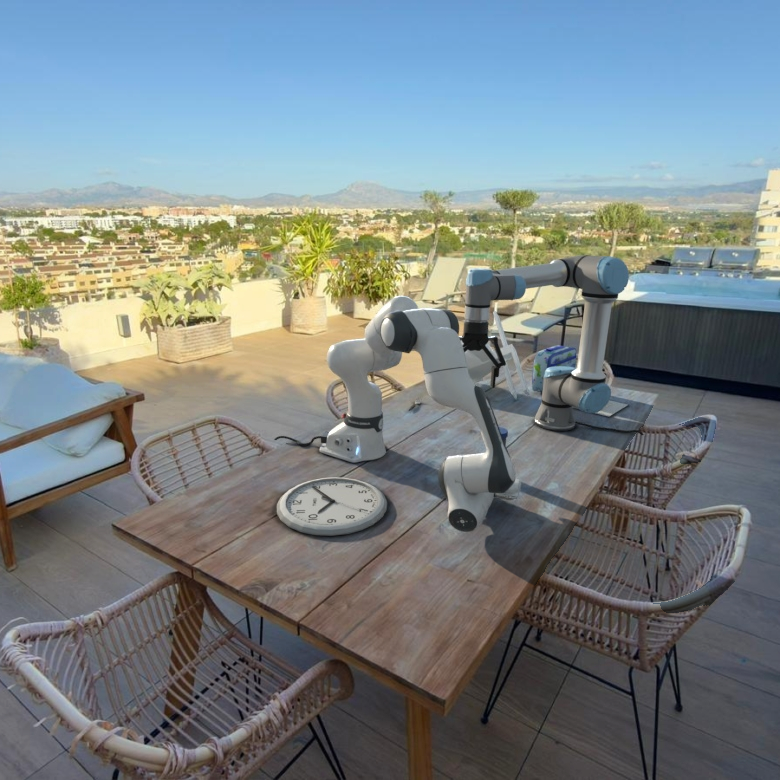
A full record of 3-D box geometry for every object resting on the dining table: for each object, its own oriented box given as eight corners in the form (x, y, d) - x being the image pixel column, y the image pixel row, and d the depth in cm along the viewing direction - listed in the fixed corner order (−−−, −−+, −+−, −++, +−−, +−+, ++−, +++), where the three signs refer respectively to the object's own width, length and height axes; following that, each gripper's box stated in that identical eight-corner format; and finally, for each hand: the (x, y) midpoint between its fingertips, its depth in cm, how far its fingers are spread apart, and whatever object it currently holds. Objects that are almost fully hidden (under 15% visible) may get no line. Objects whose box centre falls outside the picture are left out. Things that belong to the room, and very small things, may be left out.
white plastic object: (461, 429, 252) (437, 405, 227) (444, 352, 274) (420, 323, 250) (535, 404, 240) (518, 377, 215) (510, 326, 262) (492, 293, 237)
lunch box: (548, 398, 236) (553, 353, 229) (527, 393, 243) (531, 349, 237) (575, 387, 253) (581, 344, 247) (555, 382, 260) (560, 341, 254)
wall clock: (392, 527, 129) (268, 531, 127) (391, 533, 130) (269, 537, 127) (383, 473, 158) (282, 475, 155) (383, 478, 158) (282, 480, 156)
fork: (405, 411, 216) (405, 406, 215) (417, 400, 230) (417, 395, 230) (411, 412, 215) (411, 407, 214) (422, 400, 229) (422, 396, 229)
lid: (483, 433, 159) (484, 427, 158) (500, 430, 161) (501, 425, 160) (494, 440, 154) (494, 435, 153) (511, 437, 156) (512, 432, 155)
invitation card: (608, 416, 214) (573, 407, 224) (608, 416, 214) (573, 408, 224) (628, 404, 229) (594, 396, 238) (628, 405, 229) (594, 397, 238)
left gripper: (518, 489, 134) (526, 467, 146) (441, 474, 141) (455, 454, 154) (516, 510, 136) (524, 487, 148) (440, 494, 143) (454, 474, 155)
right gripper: (512, 319, 165) (506, 383, 171) (434, 317, 163) (431, 383, 169) (520, 323, 157) (513, 390, 164) (437, 322, 156) (434, 390, 162)
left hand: (488, 470), depth 151 cm, fingers open, 8 cm apart
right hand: (471, 386), depth 166 cm, fingers open, 13 cm apart
